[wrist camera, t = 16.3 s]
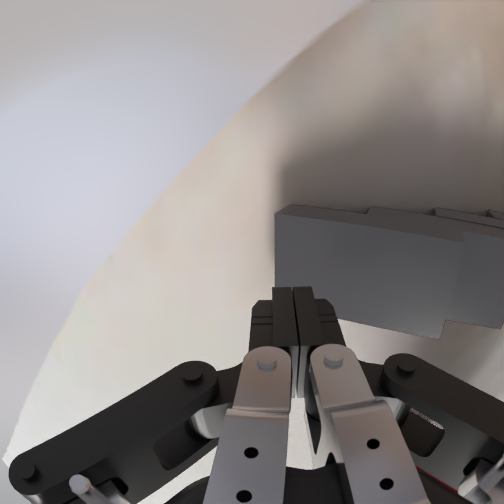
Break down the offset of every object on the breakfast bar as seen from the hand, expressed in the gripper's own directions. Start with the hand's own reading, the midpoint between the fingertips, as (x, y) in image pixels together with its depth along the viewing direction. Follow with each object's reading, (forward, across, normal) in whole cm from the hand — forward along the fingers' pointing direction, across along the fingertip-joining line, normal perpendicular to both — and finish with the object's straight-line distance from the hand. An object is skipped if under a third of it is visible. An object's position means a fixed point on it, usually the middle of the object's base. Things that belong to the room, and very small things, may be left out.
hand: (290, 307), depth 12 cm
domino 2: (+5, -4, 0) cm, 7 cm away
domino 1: (+5, 0, 0) cm, 5 cm away
